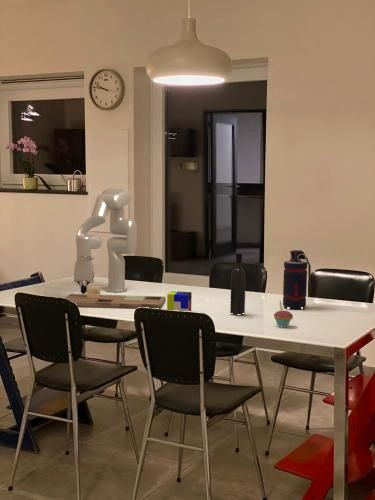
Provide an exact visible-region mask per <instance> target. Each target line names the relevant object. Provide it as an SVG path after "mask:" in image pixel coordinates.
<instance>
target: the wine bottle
mask: <svg viewBox="0 0 375 500" xmlns="http://www.w3.org/2000/svg"><path fill="white" fill-rule="evenodd" d="M242 256H243V253H241V252H240V253H239V252H237V253H235V268H234V269H233V270H232V271H231V276H230V309H229V311H230V312H229V313H233V314H242V313H246V311H245V310H246V282H247V281H246V272H245V270H244V269H243V267H242V261H243V260H242V258H243V257H242Z"/></svg>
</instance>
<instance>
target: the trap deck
mask: <svg viewBox="0 0 375 500" xmlns="http://www.w3.org/2000/svg"><path fill="white" fill-rule="evenodd" d="M64 298H65V299H69V300H70V301H72V302H74V303H76V304H77V306H78V307H77V308H94V309H95V308H97V309H98V308H99V309H101V308H103V309H128V310H129V309H133V310H134V309H135V310H137V309H136V308H138V307H149V308H159V309H158V310H162V309H163V307H164V305H165V303H166V302H167V301H166V299H167V296H161V295H160V296H157V295H156V296H154V295H115V294H114V295H113V294H100V296H99V297H98V298H92V297H87V293H85V294H82V293H80V294H79V293H70V294H68V295H67V296H65V297H64Z"/></svg>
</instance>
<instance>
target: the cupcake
mask: <svg viewBox="0 0 375 500" xmlns="http://www.w3.org/2000/svg"><path fill="white" fill-rule="evenodd" d="M282 306H283V305H282V301H281V300H279V309H280V310H278V311H276V312H275V313H274V314H273V317H274V319H275V322H276V324H277V326H278V325H279V326H288V327H289V324H290V322H291V320H293V318H294V316H293V315H294V314H292V312H290V311H288V310H283V307H282ZM279 326H278V327H279Z"/></svg>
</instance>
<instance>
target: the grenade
mask: <svg viewBox="0 0 375 500" xmlns="http://www.w3.org/2000/svg"><path fill="white" fill-rule="evenodd" d="M289 254H290V259H289V260H286V261H284V263H283V268H284V269H283V285H282V286H283V287H282V288H283V289H282V290H283V291H282V292H283V293H282V306H283V307H284V308H286V307H290V308H291V309H300V308H301V307H304V308H306V307H307V304H306V303H307V298H306V297H307V292H308V293H309V294H311V286H312V285H311V283H312V282H311V280H312V279H311V277H312V276H311V274H312V273H311V271H312V270H311V269H312V266H311V264H310V261H309V259H308V257H307V256H306V253H304V251H303V250H302V249H299V250H297V249H293V250H290V251H289ZM307 278H308V279H307Z"/></svg>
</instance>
